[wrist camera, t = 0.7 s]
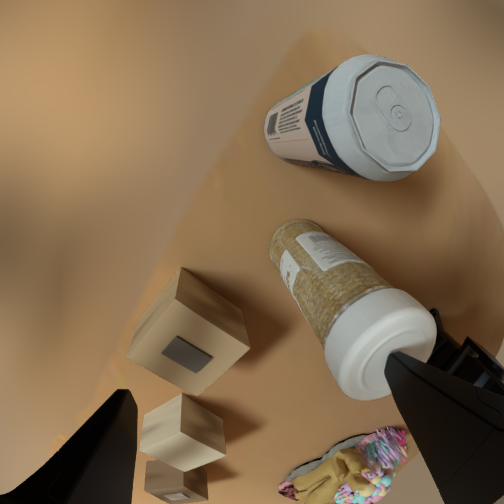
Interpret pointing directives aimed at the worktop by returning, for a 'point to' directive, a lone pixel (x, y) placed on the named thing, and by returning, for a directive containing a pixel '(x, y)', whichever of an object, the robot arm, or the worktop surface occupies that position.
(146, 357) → the oak block marked
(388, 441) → the pastel sphere sculpture
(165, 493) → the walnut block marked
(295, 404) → the worktop surface
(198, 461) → the plain birch block
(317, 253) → the granule seasoning jar
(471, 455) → the robot arm
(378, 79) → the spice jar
